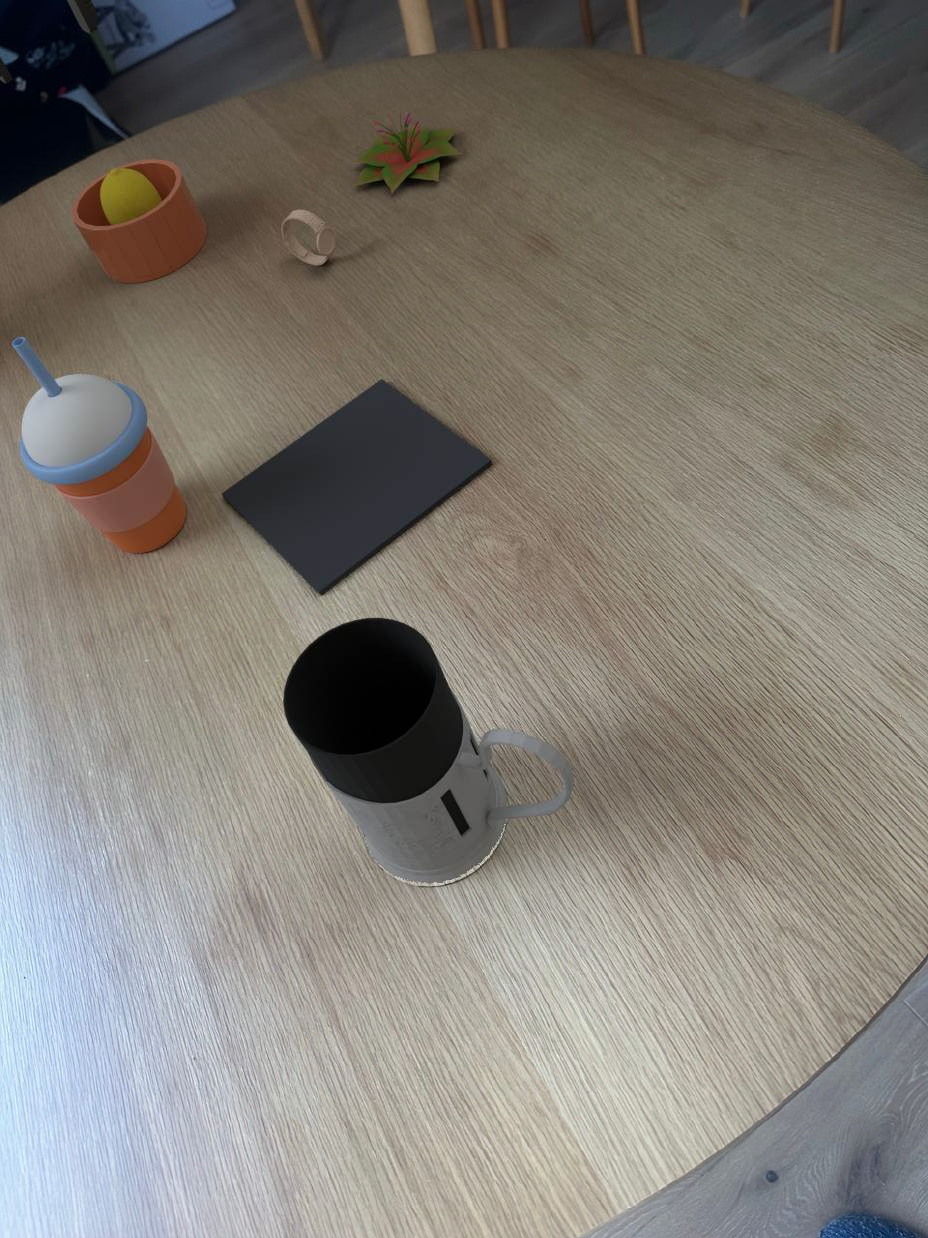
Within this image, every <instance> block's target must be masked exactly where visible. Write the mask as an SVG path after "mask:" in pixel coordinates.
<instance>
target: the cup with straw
mask: <svg viewBox="0 0 928 1238" xmlns="http://www.w3.org/2000/svg"><path fill="white" fill-rule="evenodd" d="M11 345H12V347H13V348H14V350H15V351H16V352H17V354H18V355H19V357H20V358H21V359H22V361H23V362H24V363H25V365H26V366H27V367H28V369H29V370H30V371H31V373H32V375H34V377H35V378H36V380H37V381H38V382H39V384H40V385H41V388H40V389H38V390H37V391H36V392H35V393H34V394H33V396H32V397H31V398H30V400H29V401H28V403H27V405H26V407H25V409H24V412H23V415H22V420H21V437H20V442H19V453H20V457H21V460H22V462H23V465H24V466H25V468H26V469H27V470H28V472H29V473H30V474H32V475H33V476H34V477H35V478H36V479H38V480H40V481H42V482H44V483H47V484H49V485H50V484H51V485H52V486H53V488H54V489H55V490H56V491H57V492H58V493H59V494H60V495H61V496H62V497H63V498H64V499H65V500H66V501H67V502H68V503H69V504H70V505H71V506H72V507H73V508H74V509H75V510H76V511H77V512H78V513H79V514H80V515H81V516H82V517H83V518H84V519H85V520H86V521H87V522H88V523H89V524H90V525H91V526H92V527H93V528H95V529H96V530H99V531H100V532H102V533H103V534H104V535H105V536H106V538H107V539H109V540H110V541H111V542H112V543H113V544H114V545H115V546H116V547H117V548H118V549H120V550H121V551H124V552H126V553H130V554H143V553H148V552H151V551H155V550H156V549H159V548H161V547H163V546H164V545H166V544H168V543H169V542H170V541H171V540H172V539H174V538H175V537H176V536H177V534H179V532H180V531H181V530H182V528H183V526H184V524H185V522H186V518H187V506H186V503H185V501H184V499H183V497H182V494H181V492H180V491H179V489H178V486H177V484H176V483H175V475H174V473H173V471H172V469H171V467H170V465H169V464H168V461H167V459H166V457H165V456H164V455H165V454H164V453H163V451H162V449H161V447H160V445H159V443H158V441H157V439H156V437H155V436H154V433H153V432H152V430H151V428H150V427H149V426H148V411H147V408H146V405H145V402H144V401H143V399H142V397H140V395H139V394H138V393H137V392H136V391H135V390H134V389H132V388H131V387H129V386H128V385H125V384H124V383H121V382H118V381H111V380H109V379H107V378H105V377H102V376H98V375H94V374H88V373H74V374H68V375H64V376H60V377H57V378H54V376H53V375H52V374H51V373H50V371H49V370H48V368H47V367H46V365H45V364H44V362H43V361H42V360H41V359H40V357H39V356H38V354H37V353H36V352H35V350H34V349H33V347H32V346H31V345H30V343H29V342H28V340H27V339H26V338H25V336H19V337H17V338H15V339H14V340H13V341H12V343H11Z"/></svg>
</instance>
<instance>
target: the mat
mask: <svg viewBox="0 0 928 1238" xmlns="http://www.w3.org/2000/svg"><path fill="white" fill-rule="evenodd" d="M492 465H493V462H492V459H491V458H489V457H488V456H487V455H486V454H485V453H483V452H481V451H480V450H479V449H477V448H476V447H475V446H473V445H472V444H471V443H469V442H468V441H467V440H465V439H464V438H462V437H461V436H460V435H458V434H457V433H456V432H454V431H453V430H451V429H450V428H449V427H448V426H446V425H445V424H444V423H442V422H441V421H439V420H438V419H437V418H436V417H434V416H433V415H431V414H430V413H428V412H427V411H426V410H424V409H423V408H422V407H421V406H419V405H418V404H416V403H415V402H414V401H413V400H411V399H409V398H408V397H407V396H405V394H403V393H402V392H400V391H399V390H398V389H396V388H395V387H394V386H392V385H391V384H389V382H386V381H385V380H384V379H382V378H381V379H379V380H378V381H377V382H375V383H373V385H371V386H369V387H368V388H367V389H366V390H364V391H363V392H361V393H360V394H358V395H357V396H356V397H354V398H352V399H351V400H350V401H349V402H347V403H346V404H344V405H343V406H342V407H340V408H338V410H336V411H334V412H333V413H332V414H330V415H329V416H327V417H326V418H325V419H323V420H322V421H320V422H319V423H317V425H315V426H314V427H313V428H311V429H309V430H308V431H307V432H306V433H304V434H303V435H301V436H300V437H298V438H297V439H296V440H294V441H293V442H291V443H290V444H289V445H287V446H286V447H285V448H283V449H282V450H280V451H279V452H277V453H276V454H274V455H273V456H272V457H270V458H269V459H267V460H266V461H265V462H263V463H261V465H259V466H258V467H257V468H255V469H254V470H252V471H251V472H250V473H248V474H247V475H245V476H244V477H243V478H241V479H239V480H238V481H237V482H236V483H234V484H233V485H232V486H230V487H229V488H227V489H226V490H224V491H222V493H221V496H222V497H223V499H224V500H226V502H228V504H229V505H230V506H231V507H233V509H234V510H235V511H236V512H237V513H238V514H239V515H240V516H241V517H242V518H243V519H244V520H245V521H246V522H247V524H249V525H250V526H251V527H252V528H253V529H254V530H255V531H256V532H257V533H258V534H259V535H260V536H261V538H263V539H264V540H265V541H266V542H267V543H268V544H269V546H271V547H272V548H273V549H274V550H275V551H276V552H277V553H278V554H279V555H280V556H281V557H282V558H283V559H284V560H285V561H286V562H287V563H288V565H290V566H291V567H292V569H294V570H295V571H296V572H297V573H298V574H299V575H300V577H301V578H303V579H304V580H305V581H306V583H308V584H309V586H310V587H311V588H312V589H313V590H314V591H315V592H316V593H318V595H319V596H322V595H324V594H325V593H326V592H328V591H329V590H330V589H332V588H333V587H334V586H335V585H338V584H339V582H341V581H342V580H344V579H345V578H346V577H348V576H349V575H350V574H352V572H354V571H356V569H358V568H359V567H360V566H362V565H363V564H365V563H366V562H367V561H369V560H370V559H371V558H372V557H373V556H375V555H376V554H377V553H378V552H380V551H382V550H383V549H384V548H385V547H387V546H388V545H389V544H390V543H392V542H393V541H394V540H396V539H397V538H398V537H399V536H401V535H402V534H403V533H405V532H406V531H407V530H409V529H410V528H411V527H413V526H414V525H415V524H416V523H418V522H419V521H420V520H421V519H423V518H424V517H426V516H427V515H428V514H430V513H431V512H432V511H434V510H435V509H436V508H437V507H439V506H440V505H441V504H442V503H444V502H445V501H447V500H448V499H449V498H451V496H453V495H455V494H456V493H457V492H458V491H459V490H461V489H462V488H463V487H465V486H466V485H467V484H468V483H470V482H471V481H473V480H474V479H475V478H476V477H478V475H480V474H481V473H482V472H484V471H486V470H487V469H488V468H490V467H491V466H492Z"/></svg>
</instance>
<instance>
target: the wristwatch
mask: <svg viewBox="0 0 928 1238" xmlns="http://www.w3.org/2000/svg"><path fill="white" fill-rule="evenodd" d="M291 220H299V221H300V222H303V223H305V224H307V225H308V226H309V227H310V228H311V229H312V230H313V231H314V234H315V235H317V236H316V247H317V250H318V253H319V254H321V255H317V254H315V253H312V252H311V251H309V250H308V249H306V248H305V247H304V246H303V245H302V244H301V243H300V242H299V240H298V239H297V237H296V235H295V234H294V232H293V229H292V226H291ZM325 225H326V221H323V220H322V219H321V218H320V217H319V216H317V215H316V214H314V213H312V212H311V211H309V210H305V209H294V210H292V211H291V212H290V213H289V214H288V216H287V217H286V218H285V219H284V220H283V221H282V224H281V228H280V229H281V230H280V231H281V236H282V239H283V242H284V243H285V245H286V247H287V248H288V249H289V250H290V252H291V253H292V254H293V255H294V256H295V257H297V258H298V259H299V260H300V261H302V262H304V263H306V264H308V265H311V266H315V267H316V266H322V265H324V263H326V262H327V261H328V260H329V258H330V257H331V256H332V255H333V254H334V252H335V250H336V243H337V237H336V232H335V231H334V229H333V228H332V227H331V226H328V225H326V226H325Z"/></svg>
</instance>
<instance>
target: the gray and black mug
mask: <svg viewBox="0 0 928 1238" xmlns="http://www.w3.org/2000/svg"><path fill="white" fill-rule="evenodd" d="M458 698H459V697H458V696H457V695H456V694H455V692H454V691H453V689H452V688H451V687H450V685H449V683H448V680H447V678H446V675H445V674H444V671H443V668H442V667H441V665H440V662H439V660H438V657H437V655H436V653H435V651H434V649H433V647H432V645H431V644H430V642H429V641H428V640H427V638H426V637H425V636H424V635H423V634H422V633H421V632H419V631H418V630H417V629H416V628H414V627H412V626H410V625H409V624H407V623H405V622H402V621H399V620H396V619H393V618H385V617H365V618H359V619H353V620H350V621H347V622H344V623H341V624H338V625H337V626H335V627H333V628H330V629H328V630H327V631H325V632H324V633H322V634H321V635H319V636H318V637H317V638H315V639H314V640H313V641H312V642H311V643H310V644H308V645H307V647H306V648H305V649H304V650H303V651H302V652H301V653H300V655H299V656H298V657H297V659H296V660H295V662H294V663H293V664H292V666H291V668H290V671H289V673H288V675H287V677H286V681H285V685H284V689H283V699H282V701H283V702H282V704H283V711H284V712H283V713H284V716H285V719H286V722H287V724H288V727H289V728H290V730H291V731H292V733H293V734H294V736H295V737H296V739H297V740H298V742H300V744H301V746H302V747H303V748H304V750H305V751H306V752H307V754H308V756H309V759H310V760H311V762H312V764H313V767H315V769H316V771H317V772H318V774H319V775H320V777H321V778H322V780H323V781H324V782H325V784H326V785H327V787H328V788H329V789H330V790H331V792H332V793H333V794H334V796H335V798H336V799H337V800H338V801H339V803H340V804H341V805H342V806H343V809H345V810H346V812H347V814H348V815H349V816H350V817H351V819H352V820H353V822H355V824H356V825H357V827H358V828H359V829H360V830H361V832H362V834H363V833H364V834H363V836H364V835H365V840H366V842H367V845H368V848H367V850H368V849H369V850H370V851H371V854H372V855H373V857H374V859H375V860H376V861H377V862H378V864H380V865H381V866H382V867H383V868H384V869H385V870H386V871H388V872H389V873H391V874H393V875H394V876H397V877H400V878H403V880H404V879H405V880H407V879H408V880H407V881H411V882H413V881H414V882H416V883H418V882H421V883H424V882H426V883H429V884H431V883H434V882H437V883H443V881H446V880H452V879H454V878H458V877H461V876H460V875H462V874H465V873H467V871H469V870H470V869H472V868H473V867H474V866H477V865H479V864H478V863H481V862H482V861H483V859H484V858H485V857H486V856H488V855H489V854H490V852H491V850H492V847H493V848H494V846H495V845H496V842H498V839H500V838H499V837H501V833H502V832H503V828H504V826H505V825H504V824H506V821H507V820H506V819H508V820H514V819H527V818H535V817H544V816H545V817H546V816H550V815H553V814H554V813H556V812H558V811H560V810H561V809H562V808H563V807H564V806H566V804H567V803H568V802H569V799H570V797H571V794H572V792H573V789H574V785H575V780H574V772H573V768H572V766H571V764H570V762H569V760H568V759H567V757H566V756H565V755H564V754H563V753H562V752H561V751H560V750H558V749H557V748H556V747H554V746H553V745H551V744H549V743H548V742H546V741H544V740H542V739H540V738H537V737H535V736H533V735H530V734H528V733H526V732H525V733H524V732H521V731H517V730H515V729H507V728H493V729H491V730H489V731H487V732H485V733H484V734H483V736H482V738H481V740H480V742H479V743H478V741H477V739H476V736H475V734H474V732H473V730H472V727H471V725H470V722H469V720H468V718H467V715H466V713H465V711H464V708H463V707H462V705H461V702H460V700H459V699H458ZM493 745H506V746H510V747H511V746H512V747H515V748H518V749H521V750H524V751H526V752H529V753H531V754H533V755H536V756H537V757H539V758H541V759H542V760H545V761H546V762H548V763H549V765H551V766H552V767H553V768H554V769H555V770H556V771H557V773H558V775H559V776H560V778H561V780H562V787H563V791H561V792H560V793H559V794H558V795H557V796H555V797H553V798H551V799H549V800H545V801H540V802H534V803H533V802H532V803H525V804H510V805H509V804H508V806H507V798H508V794H507V791H505V790H506V787H505V785H504V783H503V781H502V778H501V776H500V775H499V774H498V772H497V771H496V769H494V767H493V766H492V765H491V761H492V760H493V751H492V748H491V746H493ZM504 787H505V788H504ZM505 792H506V793H505ZM506 794H507V795H506ZM365 840H364V841H365ZM367 845H366V846H367ZM417 881H418V882H417Z"/></svg>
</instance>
